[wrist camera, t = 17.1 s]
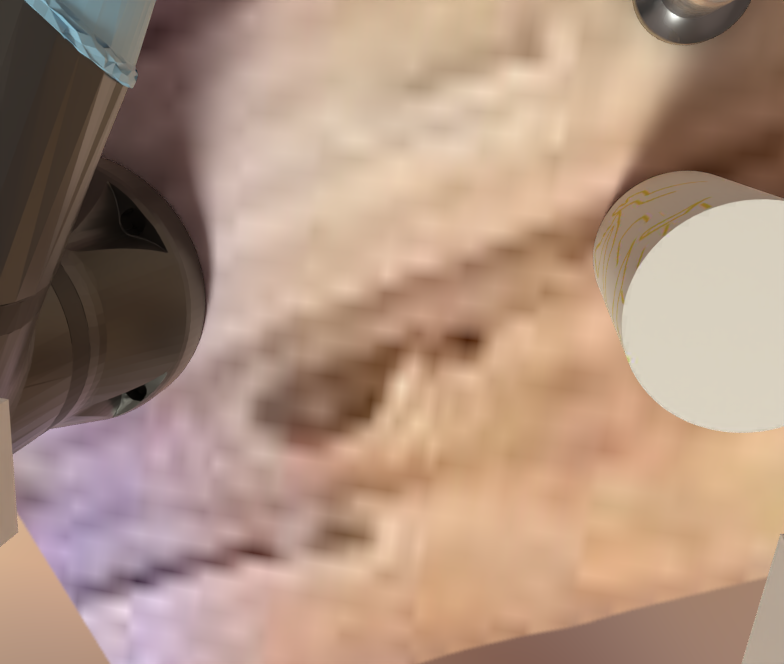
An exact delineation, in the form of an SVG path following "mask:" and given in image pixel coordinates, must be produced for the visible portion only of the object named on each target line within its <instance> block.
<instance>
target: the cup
mask: <svg viewBox="0 0 784 664" xmlns="http://www.w3.org/2000/svg"><path fill="white" fill-rule="evenodd" d="M593 266H594V273H595V277H596V281H597V284H598V286H599V289H600V292H601V294H602V297H603V299H604V302H605V304H606V307H607V309H608V312H609V314H610V317H611V319H612V322H613V324H614V327H615V329H616V332H617V334H618V337H619V339H620V342H621V344H622V347H623V349H624V352H625V354H626V357H627V359H628V362H629V364H630V367H631V369H632V371H633V373H634V375H635V376H636V378H637V380H638V381H639V383H640V384H641V386H642V387H643V388H644V389H645V391H646V392H647V393H648V394H649V395H650V396H651V397H652V398H653V399H654V400H655V401H656V402H657V403H658V404H659V405H661V406H662V407H663V408H665V409H666V410H667V411H669V412H670V413H672V414H674V415H675V416H677V417H679V418H681V419H683V420H685V421H687V422H689V423H692V424H694V425H697V426H700V427H704V428H708V429H711V430H717V431H723V432H735V433H748V432H760V431H766V430H772V429H776V428H780V427H784V198H781V197H778V196H775V195H772V194H769V193H766V192H763V191H760V190H757V189H754V188H752V187H749V186H746V185H743V184H740V183H737V182H734V181H731V180H728V179H725V178H722V177H719V176H716V175H713V174H710V173H705V172H699V171H675V172H669V173H664V174H660V175H657V176H654V177H652V178H649V179H647V180H645V181H643V182H641V183H639V184H638V185H636V186H634V187H633V188H631V189H630V190H629V191H627V192H626V193H625V194H624V195H623V196H622V197H620V198H619V199H618V200H617V202H616V203H615V204H614V205H613V206H612V207H611V209H610V210H609V211H608V213H607V214H606V216H605V218H604V219H603V221H602V223H601V225H600V228H599V230H598V233H597V236H596V239H595V244H594V251H593Z"/></svg>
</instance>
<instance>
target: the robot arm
mask: <svg viewBox="0 0 784 664" xmlns="http://www.w3.org/2000/svg"><path fill="white" fill-rule="evenodd" d="M155 2H156V0H0V547H1V546H2V545H3V544H4V543H6V542H7V541H8V540H9V539H10V538H12V537H13V536H14V535H15V534H16V533H18V524H17V510H16V496H15V482H14V468H13V454H14V453H15V452H17V451H18V450H20V449H21V448H23V447H24V446H26V445H27V444H29V443H30V442H32V441H33V440H34V439H36V438H37V437H38V436H40V435H41V434H43V433H45V432H46V431H48V430H49V429H53V428H59V427H65V426H70V425H76V424H82V423H88V422H94V421H100V420H105V419H110V418H114V417H117V416H120V415H123V414H125V413H128V412H130V411H132V410H134V409H136V408H138V407H140V406H142V405H143V404H145V403H146V402H148V401H149V400H151V399H152V398H153V397H155V396H156V395H157V394H159V393H160V392H161V391H162V390H164V389H165V388H166V387H168V386H169V385H170V384H171V383H172V382H173V381H174V380H175V379H176V378H177V377H178V376H179V375H180V374H181V373H182V371H183V370H184V369H185V367H186V366H187V364H188V363H189V361H190V359H191V358H192V356H193V354H194V352H195V350H196V347H197V344H198V342H199V339H200V335H201V332H202V327H203V322H204V314H205V290H204V281H203V275H202V271H201V267H200V263H199V260H198V256H197V254H196V251H195V248H194V246H193V243H192V241H191V239H190V237H189V235H188V233H187V231H186V229H185V228H184V226H183V224H182V223H181V221H180V219H179V218H178V216H177V215H176V214H175V212H174V211H173V210H172V208H171V207H170V206H169V205H168V203H167V202H166V201H165V200H164V199H163V198H162V197H161V196H160V195H159V194H158V193H157V192H156V191H155V190H154V189H153V188H152V187H151V186H150V185H149V184H147V183H146V182H145V181H144V180H142V179H141V178H140V177H138V176H137V175H135V174H134V173H132V172H131V171H129V170H127V169H126V168H124V167H122V166H120V165H118V164H116V163H114V162H112V161H109V160H107V159H104V158H101V157H100V156H101V153H102V151H103V148H104V146H105V144H106V141H107V139H108V136H109V134H110V131H111V129H112V126H113V124H114V121H115V119H116V116H117V114H118V112H119V109H120V107H121V104H122V102H123V99H124V97H125V94H126V92H127V89H128V87H129V88H133V87H134V85H135V83H136V81H137V77H138V73H137V70H136V63H137V60H138V57H139V54H140V50H141V47H142V44H143V41H144V38H145V34H146V31H147V28H148V25H149V21H150V18H151V15H152V12H153V8H154V5H155ZM742 664H784V534H780V537H779V541H778V544H777V547H776V551H775V554H774V557H773V561H772V564H771V567H770V571H769V574H768V577H767V581H766V584H765V588H764V591H763V594H762V598H761V601H760V604H759V607H758V612H757V614H756V617H755V621H754V624H753V627H752V631H751V634H750V637H749V641H748V644H747V647H746V651H745V654H744V657H743V661H742Z"/></svg>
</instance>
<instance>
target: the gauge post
mask: <svg viewBox="0 0 784 664" xmlns="http://www.w3.org/2000/svg"><path fill="white" fill-rule="evenodd" d="M632 1H633V6H634V10H635V13H636V15H637V17H638V19H639V21H640V23H641V24H642V25H643V27H644V28H645V29H646V30H647V31H648V32H649V33H650V34H651V35H653V36H654V37H656V38H657V39H659V40H661V41H663V42H666V43H670V44H675V45H692V44H697V43H701V42H704V41H706V40H709V39H711V38H714V37H716V36H718V35H720V34H721V33H723V32H724V31H726V30H727V29H729V28H730V27H731V26H732V25H733V24H734V23H735V22H736V21H737V20H738V19H739V18H740V17H741V16H742V14H743V13H744V12H745V10H746V9H747V7H748V5H749V3H750V2H751V0H632Z"/></svg>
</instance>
